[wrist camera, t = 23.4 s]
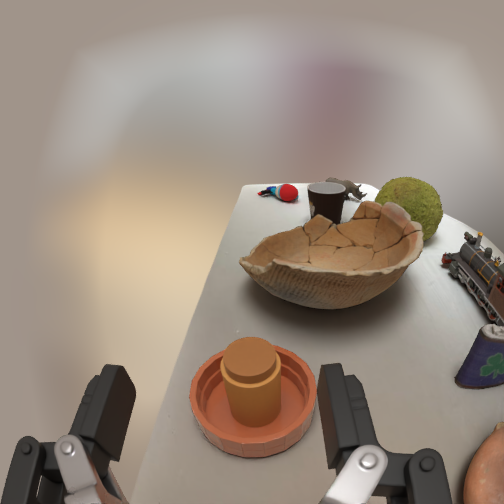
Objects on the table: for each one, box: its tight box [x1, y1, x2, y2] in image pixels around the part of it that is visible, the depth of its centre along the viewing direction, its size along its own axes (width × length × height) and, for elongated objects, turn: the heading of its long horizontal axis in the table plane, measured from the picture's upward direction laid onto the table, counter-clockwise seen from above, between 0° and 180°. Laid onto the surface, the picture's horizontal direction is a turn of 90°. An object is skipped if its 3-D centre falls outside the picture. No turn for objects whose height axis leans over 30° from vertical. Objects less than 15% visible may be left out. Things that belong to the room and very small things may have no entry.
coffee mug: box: [307, 182, 346, 225], centre depth 69 cm, size 12×9×10 cm
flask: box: [454, 324, 504, 389], centre depth 25 cm, size 9×3×11 cm, turn 73°
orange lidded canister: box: [220, 337, 281, 427], centre depth 28 cm, size 6×6×9 cm
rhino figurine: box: [326, 178, 367, 200], centre depth 84 cm, size 4×14×6 cm, turn 50°
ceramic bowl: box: [239, 201, 424, 309], centre depth 48 cm, size 30×27×15 cm
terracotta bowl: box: [189, 345, 317, 457], centre depth 30 cm, size 13×13×4 cm
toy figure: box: [258, 184, 298, 201], centre depth 89 cm, size 8×5×15 cm
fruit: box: [375, 177, 443, 241], centre depth 61 cm, size 16×14×15 cm
